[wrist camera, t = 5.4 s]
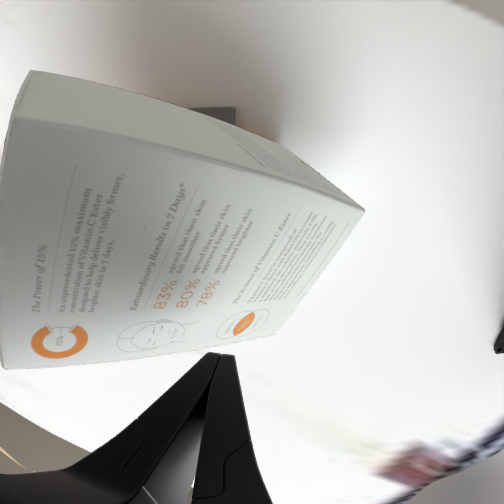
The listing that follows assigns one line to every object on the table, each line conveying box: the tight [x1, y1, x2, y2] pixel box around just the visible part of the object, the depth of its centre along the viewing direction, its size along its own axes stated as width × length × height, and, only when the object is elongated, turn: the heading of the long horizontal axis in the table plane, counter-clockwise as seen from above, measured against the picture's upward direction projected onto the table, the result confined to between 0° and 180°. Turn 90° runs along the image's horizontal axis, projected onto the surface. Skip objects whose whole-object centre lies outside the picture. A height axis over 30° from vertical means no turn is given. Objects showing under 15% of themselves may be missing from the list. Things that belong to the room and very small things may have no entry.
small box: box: [0, 70, 365, 370], centre depth 12 cm, size 8×6×13 cm
